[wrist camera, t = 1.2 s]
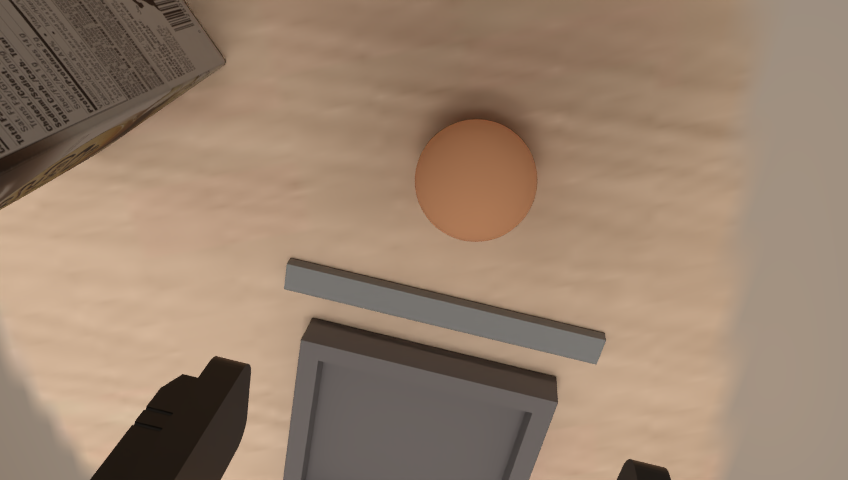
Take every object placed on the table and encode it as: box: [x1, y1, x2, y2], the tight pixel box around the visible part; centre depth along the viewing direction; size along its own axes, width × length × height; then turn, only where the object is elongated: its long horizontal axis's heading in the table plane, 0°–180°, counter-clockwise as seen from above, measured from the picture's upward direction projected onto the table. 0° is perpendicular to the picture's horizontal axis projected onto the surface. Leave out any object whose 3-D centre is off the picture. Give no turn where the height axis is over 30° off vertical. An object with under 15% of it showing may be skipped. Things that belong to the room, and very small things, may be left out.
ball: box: [415, 119, 537, 242], centre depth 27 cm, size 5×5×5 cm
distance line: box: [284, 258, 606, 364], centre depth 33 cm, size 2×16×1 cm, turn 79°
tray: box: [283, 318, 558, 480], centre depth 36 cm, size 13×13×2 cm
